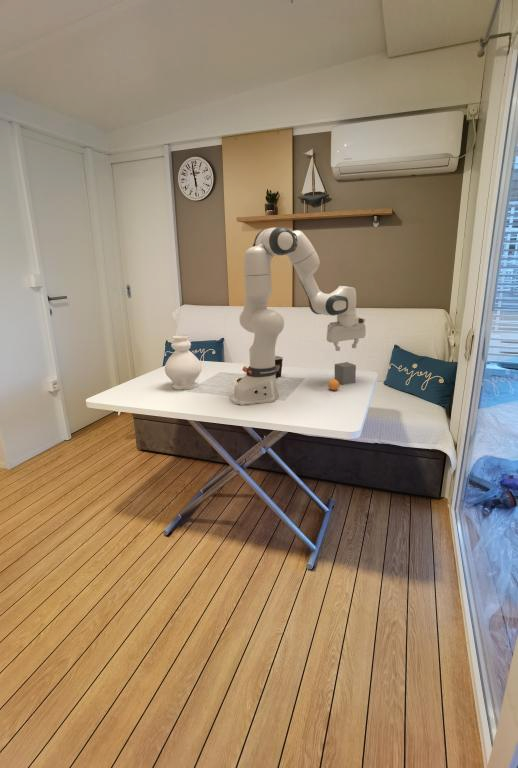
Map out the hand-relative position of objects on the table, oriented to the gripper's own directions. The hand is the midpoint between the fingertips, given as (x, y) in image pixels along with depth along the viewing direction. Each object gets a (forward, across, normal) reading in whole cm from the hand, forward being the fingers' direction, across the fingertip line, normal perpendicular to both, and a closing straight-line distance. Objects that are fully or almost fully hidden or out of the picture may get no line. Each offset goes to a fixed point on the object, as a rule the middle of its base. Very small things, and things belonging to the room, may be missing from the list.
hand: (346, 349), depth 196 cm
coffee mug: (+16, -26, +28) cm, 42 cm away
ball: (+14, -12, -8) cm, 20 cm away
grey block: (+16, 0, 0) cm, 16 cm away
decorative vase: (+15, -72, +35) cm, 81 cm away
